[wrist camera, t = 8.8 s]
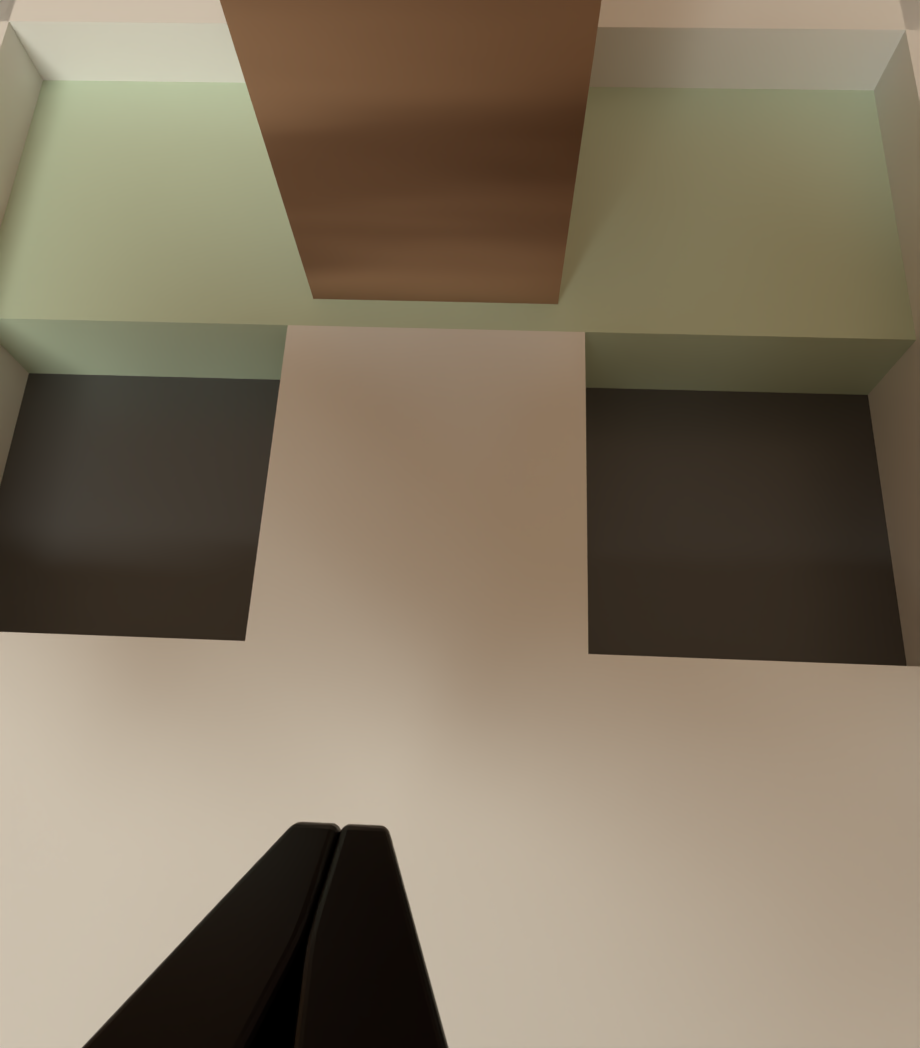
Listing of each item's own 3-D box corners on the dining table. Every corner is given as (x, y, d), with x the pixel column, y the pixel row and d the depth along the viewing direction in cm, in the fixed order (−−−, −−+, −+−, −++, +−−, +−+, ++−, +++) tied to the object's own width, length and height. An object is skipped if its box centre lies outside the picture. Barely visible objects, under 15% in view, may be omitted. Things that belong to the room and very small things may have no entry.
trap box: (1022, 1113, 14) (1218, 1213, 10) (-187, 1043, 15) (-413, 1114, 11) (865, 143, 21) (946, -5, 18) (60, 131, 22) (-25, -13, 18)
